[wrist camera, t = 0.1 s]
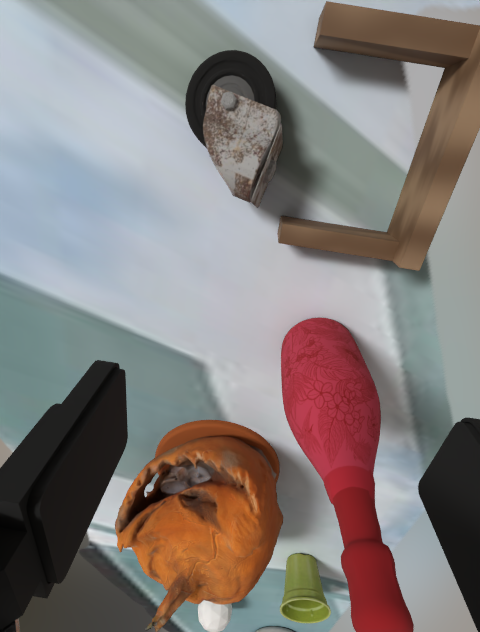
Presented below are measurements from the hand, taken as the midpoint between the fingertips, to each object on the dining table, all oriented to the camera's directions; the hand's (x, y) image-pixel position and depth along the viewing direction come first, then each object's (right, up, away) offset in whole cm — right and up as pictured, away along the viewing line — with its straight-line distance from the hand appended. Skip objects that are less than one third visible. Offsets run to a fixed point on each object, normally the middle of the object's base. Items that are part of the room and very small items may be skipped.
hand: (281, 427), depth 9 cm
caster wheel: (-2, +22, +24) cm, 33 cm away
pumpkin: (-5, -22, +48) cm, 53 cm away
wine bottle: (+9, -1, +35) cm, 36 cm away
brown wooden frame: (+11, +20, +24) cm, 33 cm away
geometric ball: (-7, -61, +69) cm, 93 cm away
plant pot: (+12, -48, +60) cm, 78 cm away
